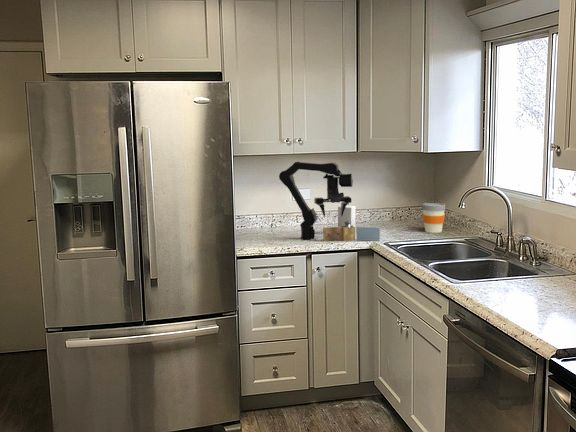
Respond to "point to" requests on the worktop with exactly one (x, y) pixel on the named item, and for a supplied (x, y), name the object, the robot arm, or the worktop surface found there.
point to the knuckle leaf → (339, 233)
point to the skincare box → (346, 215)
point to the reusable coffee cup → (433, 216)
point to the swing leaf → (368, 233)
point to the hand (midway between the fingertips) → (333, 216)
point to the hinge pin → (347, 223)
